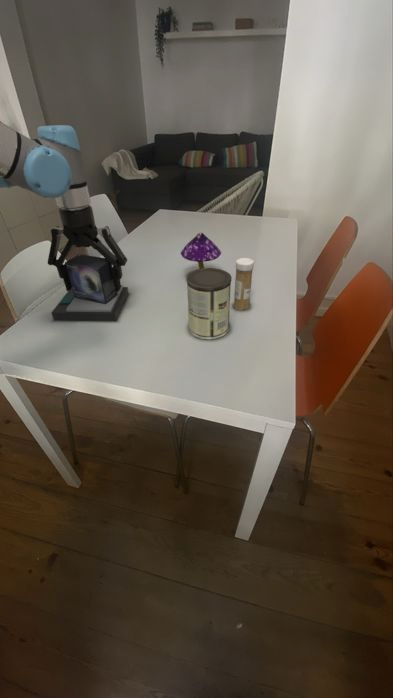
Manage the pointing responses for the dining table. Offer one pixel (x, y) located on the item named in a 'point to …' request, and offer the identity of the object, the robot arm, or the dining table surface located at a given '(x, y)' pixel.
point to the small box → (91, 278)
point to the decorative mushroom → (200, 250)
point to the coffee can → (208, 302)
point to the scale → (89, 308)
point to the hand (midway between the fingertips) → (94, 289)
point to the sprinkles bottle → (243, 283)
